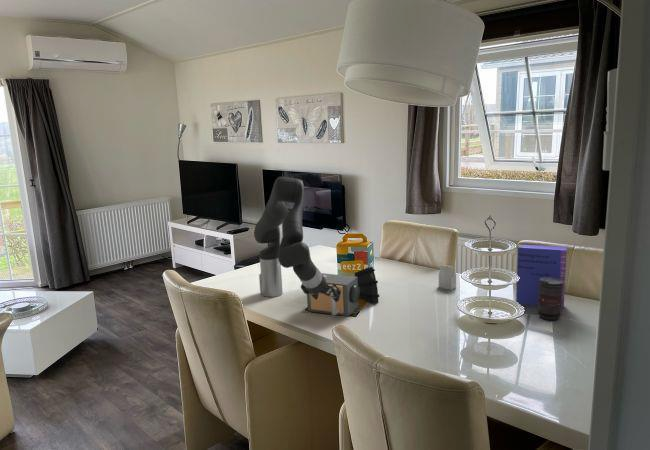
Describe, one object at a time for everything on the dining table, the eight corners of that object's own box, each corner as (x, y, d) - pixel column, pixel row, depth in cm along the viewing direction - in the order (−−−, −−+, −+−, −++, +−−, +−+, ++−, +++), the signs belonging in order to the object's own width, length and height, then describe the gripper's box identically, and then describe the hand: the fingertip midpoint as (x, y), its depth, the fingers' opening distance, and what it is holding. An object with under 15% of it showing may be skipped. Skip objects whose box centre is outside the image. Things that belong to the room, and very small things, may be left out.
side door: (304, 312, 203) (302, 286, 201) (310, 307, 208) (309, 282, 205) (338, 317, 197) (337, 290, 194) (343, 312, 201) (342, 285, 199)
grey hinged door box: (307, 310, 209) (305, 278, 206) (319, 301, 218) (317, 271, 216) (351, 316, 200) (350, 283, 198) (362, 307, 210) (361, 275, 207)
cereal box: (563, 305, 203) (566, 246, 198) (563, 309, 198) (566, 249, 194) (517, 300, 210) (518, 244, 205) (516, 304, 206) (517, 246, 201)
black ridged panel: (376, 302, 210) (366, 267, 212) (360, 307, 221) (350, 274, 224) (384, 300, 212) (373, 266, 214) (367, 305, 223) (357, 272, 225)
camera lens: (550, 324, 185) (552, 285, 182) (532, 317, 192) (534, 279, 189) (565, 319, 188) (568, 281, 185) (547, 313, 195) (549, 275, 192)
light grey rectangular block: (451, 290, 226) (451, 268, 224) (438, 286, 231) (438, 265, 229) (456, 288, 228) (456, 266, 226) (443, 284, 233) (443, 263, 231)
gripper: (333, 270, 178) (347, 291, 191) (297, 267, 185) (313, 287, 197) (327, 289, 175) (341, 309, 187) (291, 285, 181) (307, 305, 193)
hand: (327, 298), depth 192 cm, fingers open, 8 cm apart
